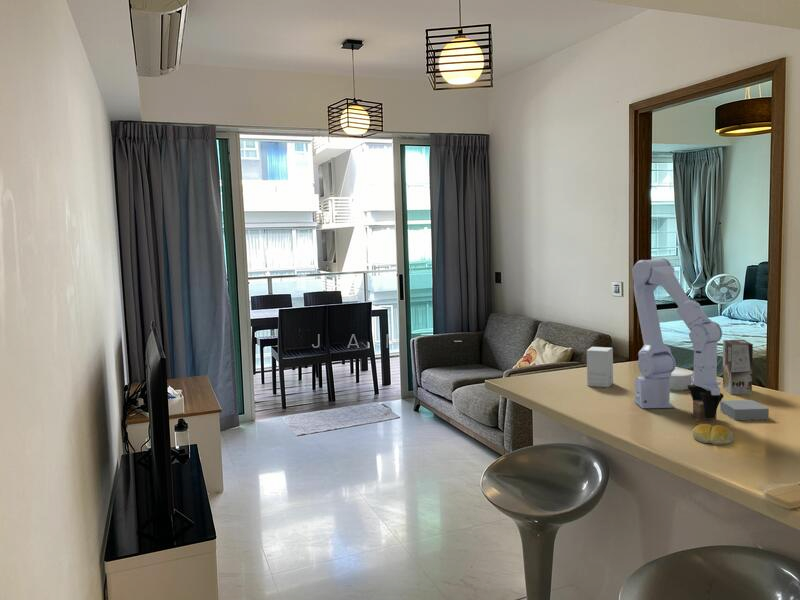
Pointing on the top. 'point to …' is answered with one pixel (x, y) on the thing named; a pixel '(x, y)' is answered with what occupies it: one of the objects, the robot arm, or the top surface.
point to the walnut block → (700, 412)
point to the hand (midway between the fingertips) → (704, 414)
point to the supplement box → (600, 366)
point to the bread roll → (712, 434)
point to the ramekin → (680, 379)
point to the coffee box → (737, 366)
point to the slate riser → (744, 410)
